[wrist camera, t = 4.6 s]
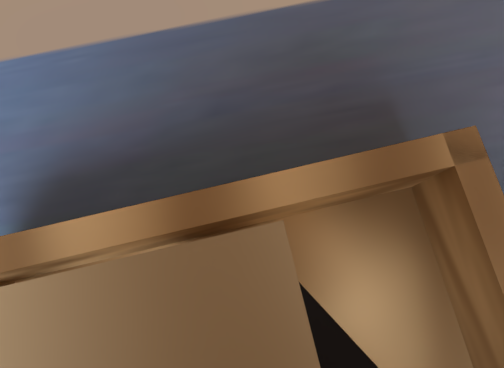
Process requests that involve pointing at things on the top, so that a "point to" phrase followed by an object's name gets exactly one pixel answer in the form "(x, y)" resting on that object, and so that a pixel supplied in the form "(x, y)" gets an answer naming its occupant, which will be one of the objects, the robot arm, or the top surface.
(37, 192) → the top surface
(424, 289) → the pine rack
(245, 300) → the square wooden post
